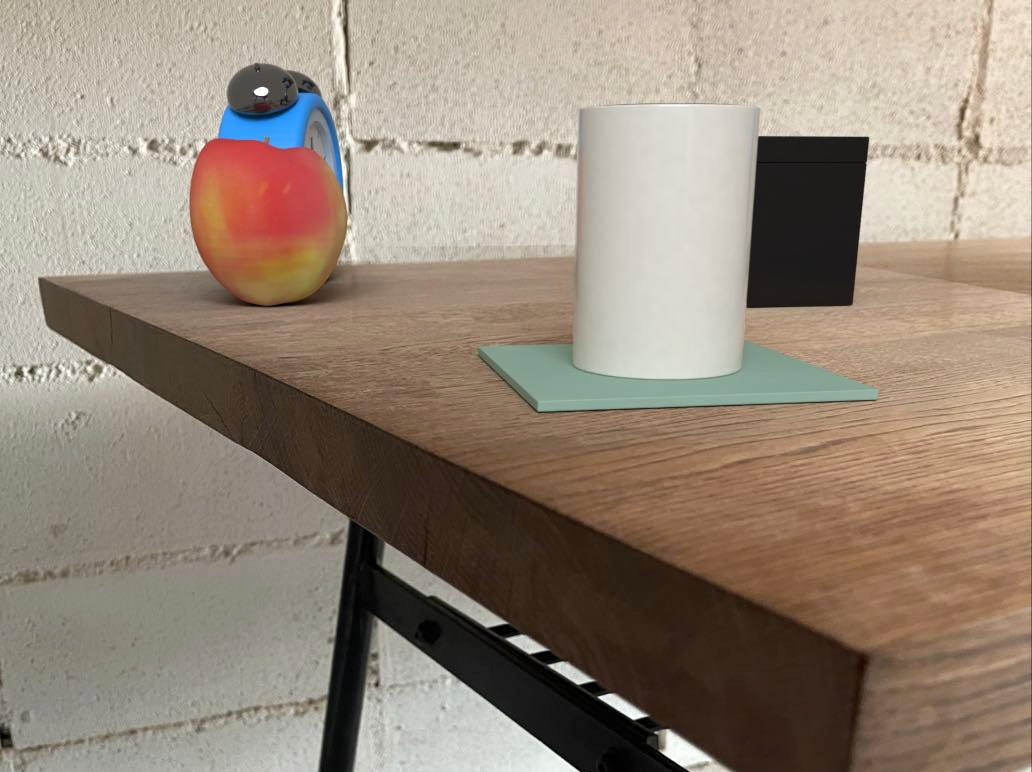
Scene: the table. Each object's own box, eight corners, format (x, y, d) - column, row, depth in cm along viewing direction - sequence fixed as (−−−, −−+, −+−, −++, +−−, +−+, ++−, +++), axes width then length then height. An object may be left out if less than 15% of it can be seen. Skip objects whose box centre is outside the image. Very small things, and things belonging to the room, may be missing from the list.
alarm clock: (304, 291, 78) (292, 57, 73) (218, 290, 79) (201, 58, 74) (348, 274, 90) (340, 73, 86) (273, 273, 91) (261, 74, 86)
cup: (706, 350, 51) (721, 111, 48) (769, 377, 44) (791, 103, 41) (555, 354, 50) (559, 110, 46) (596, 383, 43) (605, 101, 40)
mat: (744, 347, 54) (745, 339, 54) (878, 400, 42) (879, 389, 42) (477, 354, 52) (477, 346, 52) (537, 412, 40) (537, 401, 40)
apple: (275, 316, 65) (264, 133, 62) (162, 306, 70) (146, 135, 67) (379, 301, 73) (374, 136, 70) (270, 292, 78) (261, 138, 75)
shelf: (764, 283, 84) (774, 141, 81) (853, 305, 71) (869, 136, 68) (634, 285, 82) (640, 140, 79) (701, 308, 69) (711, 135, 66)
